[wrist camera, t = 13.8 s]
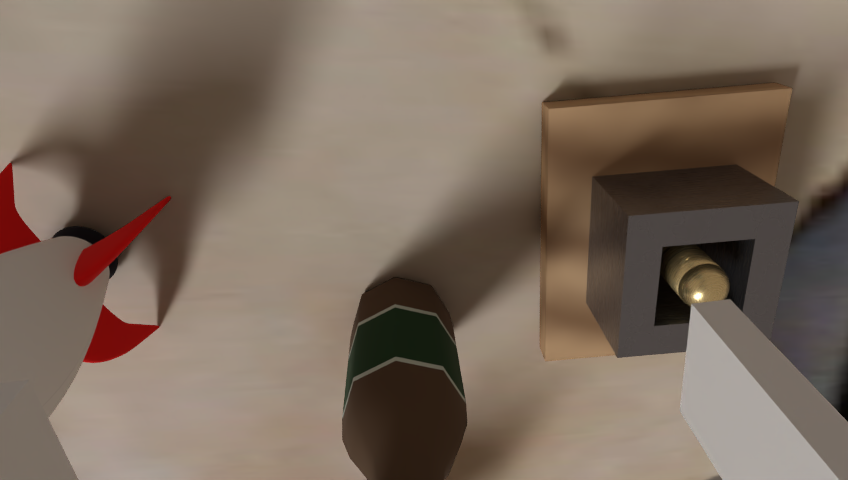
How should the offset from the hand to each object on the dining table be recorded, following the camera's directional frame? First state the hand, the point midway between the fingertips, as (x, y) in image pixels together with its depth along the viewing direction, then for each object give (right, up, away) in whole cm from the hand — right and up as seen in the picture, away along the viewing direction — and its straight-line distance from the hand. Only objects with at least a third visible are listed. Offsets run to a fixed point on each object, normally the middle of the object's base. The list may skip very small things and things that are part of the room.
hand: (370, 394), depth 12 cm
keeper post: (+18, +3, +31) cm, 36 cm away
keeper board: (+18, +4, +33) cm, 38 cm away
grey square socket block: (+18, +3, +31) cm, 36 cm away
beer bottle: (-1, -3, +36) cm, 36 cm away
